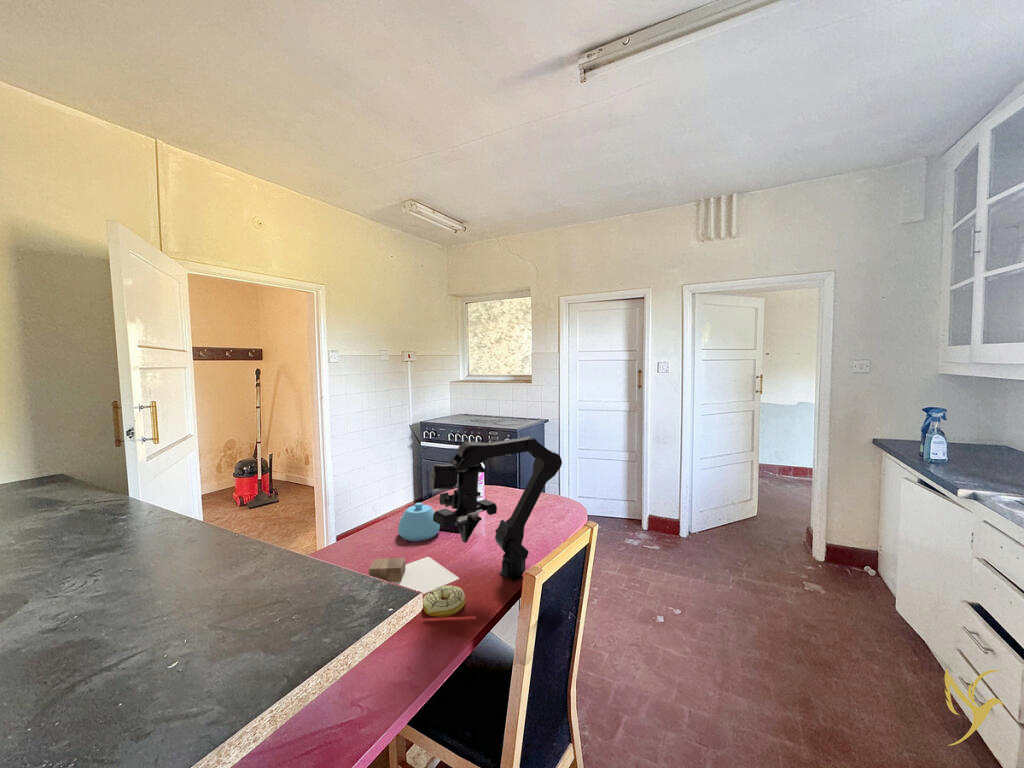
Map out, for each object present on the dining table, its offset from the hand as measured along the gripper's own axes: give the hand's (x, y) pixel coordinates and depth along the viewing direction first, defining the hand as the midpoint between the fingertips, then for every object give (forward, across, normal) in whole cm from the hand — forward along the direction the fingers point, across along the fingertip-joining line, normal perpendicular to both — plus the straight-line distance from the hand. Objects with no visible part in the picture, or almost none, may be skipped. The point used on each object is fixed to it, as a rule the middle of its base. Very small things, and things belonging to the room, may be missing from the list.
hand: (464, 542), depth 113 cm
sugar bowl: (+14, -10, -39) cm, 42 cm away
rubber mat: (+13, +7, -12) cm, 19 cm away
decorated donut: (+13, +10, +5) cm, 17 cm away
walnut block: (+11, +10, -15) cm, 21 cm away
